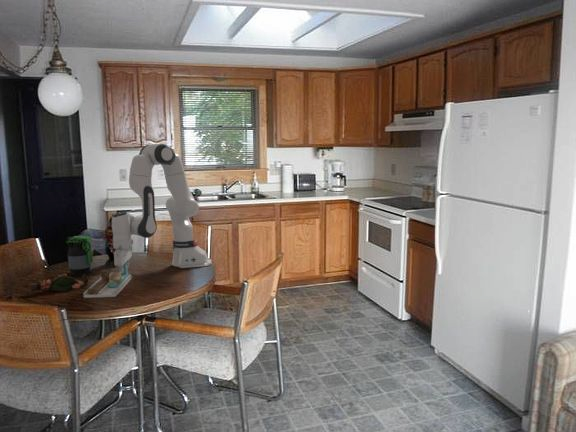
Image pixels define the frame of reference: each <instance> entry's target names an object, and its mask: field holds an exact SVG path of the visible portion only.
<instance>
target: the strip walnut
mask: <svg viewBox="0 0 576 432" xmlns="http://www.w3.org/2000/svg"><path fill="white" fill-rule="evenodd" d="M109 274H110V269H102V270H101V271H100V278H101V280H100V281H99V282H98V283H97V284H96V285H95V286H94V287H93V288H91V289H88V288H87V289H88V294H98V292H99V291H100V290H101V289H102V288H103V287H104V286H105V285H106V284H107V283H109Z"/></svg>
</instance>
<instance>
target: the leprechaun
mask: <svg viewBox="0 0 576 432" xmlns="http://www.w3.org/2000/svg"><path fill="white" fill-rule="evenodd" d="M81 276H82V280H78V279H75V278H74V277H71V275H70V274H67V273H63V274H60V275H59V274H58V275H57V276H55V277H53V278H52V279H50V278H49V279H46V280H45V279H43V280H41V279H40V280H39V281H38V282H31V283H28V286H29V291H30V292H32V293H33V292H36V291H40V292H42V293H43V292H44V291H47V290H48V289H49V290H50V291H53V292H60V293H64V292H68V291H69V292H70V291H73V289H80V288H81V287H82V286H88V283H89V278H88V276H86V274H83V275H81Z"/></svg>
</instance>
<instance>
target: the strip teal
mask: <svg viewBox="0 0 576 432" xmlns="http://www.w3.org/2000/svg"><path fill="white" fill-rule="evenodd" d="M128 268H129V267H128ZM128 268H127V265H123V269H124V272H123V273H121V277H122V281H121V282H120V283H119V284H118V282H109V287H118V286H119V285H120V284H121V283H122V282H123V281H124V280H125V279H126V278H127V276H128V275H130V272H129V271H128Z"/></svg>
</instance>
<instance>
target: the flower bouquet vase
mask: <svg viewBox="0 0 576 432" xmlns="http://www.w3.org/2000/svg"><path fill="white" fill-rule="evenodd" d="M114 214H115V213H111V216H110V217H109V220H108V222H109V223H108V224H107V226H106V228H105V229H104V232H105V234H104V239H105V240H107V241H108V242H107V243H106V247H105V251H106V253H105V255H107V257H108V259H107V260H106V261H105V263H104V264H105V266H106V268H108V267H109V268H113V267H114V268H115V267H117V268H118V266H115V264H114V252H115V251H116V249H114V248H113V231H112V217H113V215H114ZM123 265H125V263H124V264H123Z"/></svg>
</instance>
